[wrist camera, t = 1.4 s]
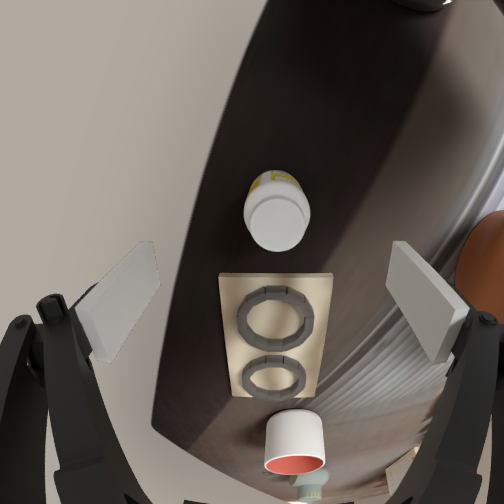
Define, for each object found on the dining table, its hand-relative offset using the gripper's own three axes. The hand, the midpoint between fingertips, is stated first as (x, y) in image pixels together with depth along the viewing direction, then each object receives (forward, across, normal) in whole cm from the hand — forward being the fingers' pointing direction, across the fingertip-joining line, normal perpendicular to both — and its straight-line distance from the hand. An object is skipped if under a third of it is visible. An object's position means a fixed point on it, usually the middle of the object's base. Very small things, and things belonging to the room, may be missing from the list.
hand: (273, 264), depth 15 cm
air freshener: (+16, +10, -67) cm, 69 cm away
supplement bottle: (+16, 0, 0) cm, 16 cm away
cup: (+16, +4, -40) cm, 43 cm away
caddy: (+16, 0, -20) cm, 25 cm away
